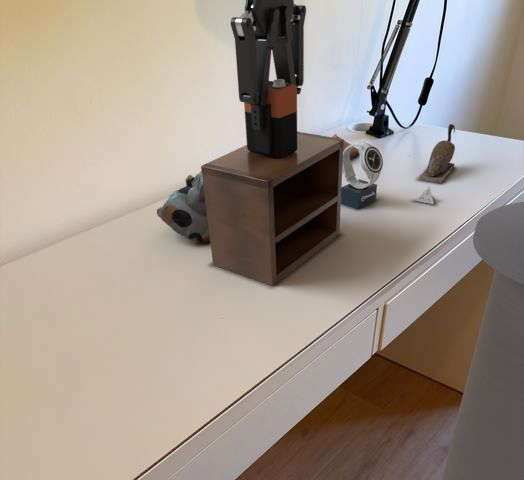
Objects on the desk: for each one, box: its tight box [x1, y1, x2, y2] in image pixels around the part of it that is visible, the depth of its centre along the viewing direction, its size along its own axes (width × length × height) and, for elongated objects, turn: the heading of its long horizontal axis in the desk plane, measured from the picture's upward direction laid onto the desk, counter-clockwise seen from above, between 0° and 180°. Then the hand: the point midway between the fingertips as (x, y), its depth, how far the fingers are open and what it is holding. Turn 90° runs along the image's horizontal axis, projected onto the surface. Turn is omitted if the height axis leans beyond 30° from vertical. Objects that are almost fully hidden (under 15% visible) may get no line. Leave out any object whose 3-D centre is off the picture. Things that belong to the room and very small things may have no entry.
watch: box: [341, 141, 384, 210], centre depth 99 cm, size 6×8×11 cm
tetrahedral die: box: [416, 186, 435, 205], centre depth 101 cm, size 4×3×3 cm
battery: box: [243, 78, 298, 158], centre depth 76 cm, size 4×7×10 cm, turn 48°
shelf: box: [200, 131, 345, 286], centre depth 84 cm, size 12×20×16 cm, turn 143°
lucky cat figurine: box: [156, 170, 210, 243], centre depth 93 cm, size 15×12×14 cm
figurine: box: [419, 123, 456, 184], centre depth 110 cm, size 14×4×9 cm, turn 149°
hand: (274, 146), depth 78 cm, fingers closed on battery, 5 cm apart
